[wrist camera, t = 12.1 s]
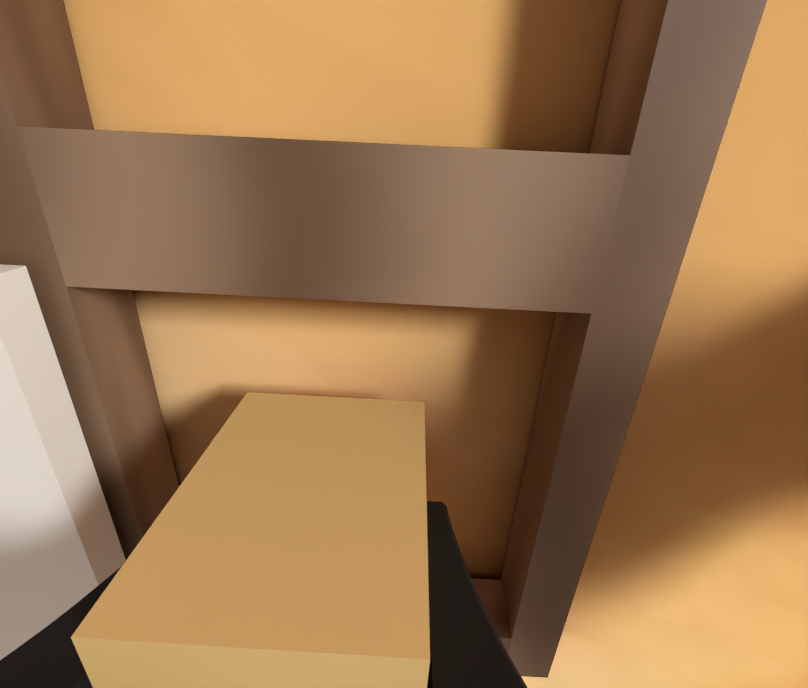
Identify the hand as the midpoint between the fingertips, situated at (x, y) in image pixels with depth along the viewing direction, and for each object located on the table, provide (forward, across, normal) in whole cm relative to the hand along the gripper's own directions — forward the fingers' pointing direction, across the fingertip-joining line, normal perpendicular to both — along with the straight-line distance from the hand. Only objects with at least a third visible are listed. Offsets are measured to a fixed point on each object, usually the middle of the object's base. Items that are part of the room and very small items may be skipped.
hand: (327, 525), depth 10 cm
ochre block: (+2, 0, 0) cm, 2 cm away
